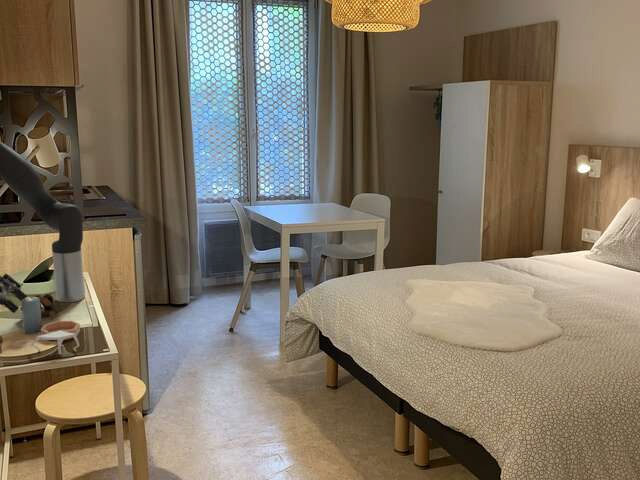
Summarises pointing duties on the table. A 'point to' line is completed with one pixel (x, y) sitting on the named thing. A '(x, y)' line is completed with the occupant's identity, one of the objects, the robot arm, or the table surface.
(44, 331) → the terracotta bowl
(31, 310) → the pebble cup
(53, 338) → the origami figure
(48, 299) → the pottery mug
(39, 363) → the table surface
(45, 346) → the table surface
